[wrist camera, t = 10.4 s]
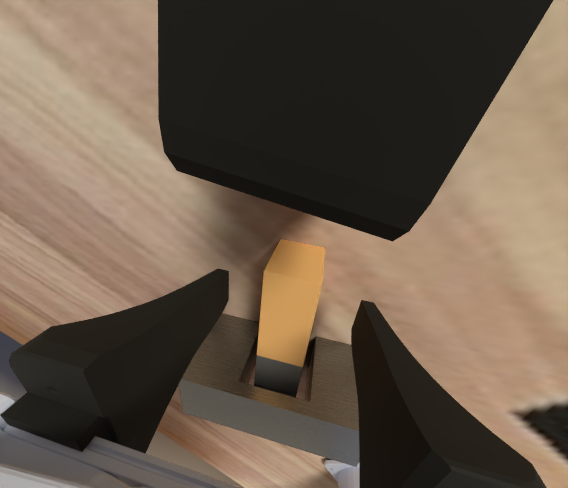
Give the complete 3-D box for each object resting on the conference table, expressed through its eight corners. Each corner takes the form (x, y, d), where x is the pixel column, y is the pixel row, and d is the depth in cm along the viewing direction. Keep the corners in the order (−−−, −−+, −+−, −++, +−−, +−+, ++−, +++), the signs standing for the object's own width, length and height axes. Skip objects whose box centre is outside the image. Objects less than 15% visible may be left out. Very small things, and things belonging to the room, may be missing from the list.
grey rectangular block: (350, 379, 19) (356, 467, 14) (220, 345, 21) (183, 413, 16) (362, 348, 17) (374, 435, 12) (219, 313, 19) (177, 377, 14)
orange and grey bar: (297, 372, 20) (289, 422, 17) (265, 364, 21) (252, 410, 17) (325, 247, 14) (322, 283, 11) (280, 239, 15) (264, 270, 11)
